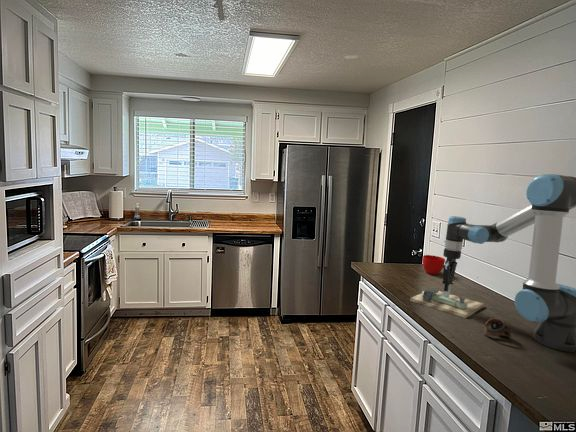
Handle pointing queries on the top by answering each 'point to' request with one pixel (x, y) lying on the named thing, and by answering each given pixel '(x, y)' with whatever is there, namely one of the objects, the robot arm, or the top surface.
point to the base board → (464, 313)
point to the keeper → (429, 294)
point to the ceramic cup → (433, 264)
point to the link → (448, 301)
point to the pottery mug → (497, 328)
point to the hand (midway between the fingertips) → (445, 297)
